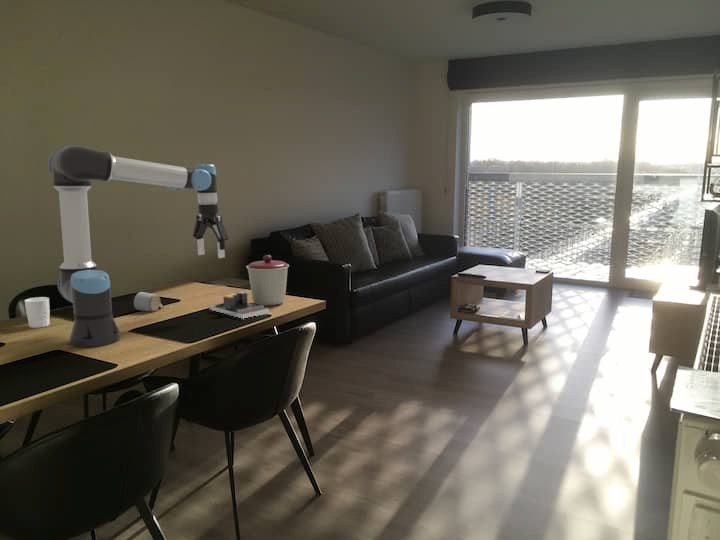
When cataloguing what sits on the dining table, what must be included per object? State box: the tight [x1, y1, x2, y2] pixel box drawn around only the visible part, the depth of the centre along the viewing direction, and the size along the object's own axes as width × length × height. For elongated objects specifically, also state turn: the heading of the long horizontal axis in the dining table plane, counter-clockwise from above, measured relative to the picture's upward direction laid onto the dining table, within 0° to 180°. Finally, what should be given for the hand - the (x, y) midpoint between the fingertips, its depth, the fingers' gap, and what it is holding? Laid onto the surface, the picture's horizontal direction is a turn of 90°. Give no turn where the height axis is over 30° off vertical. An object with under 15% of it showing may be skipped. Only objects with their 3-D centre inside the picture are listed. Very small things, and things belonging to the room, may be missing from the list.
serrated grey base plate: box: [209, 290, 270, 320], centre depth 229 cm, size 13×22×7 cm, turn 48°
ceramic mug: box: [133, 291, 163, 313], centre depth 234 cm, size 11×8×8 cm
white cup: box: [24, 296, 51, 329], centre depth 211 cm, size 8×8×10 cm
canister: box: [245, 254, 290, 307], centre depth 243 cm, size 18×18×21 cm
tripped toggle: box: [222, 294, 235, 309], centre depth 226 cm, size 3×4×5 cm, turn 48°
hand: (211, 256), depth 230 cm, fingers open, 13 cm apart
